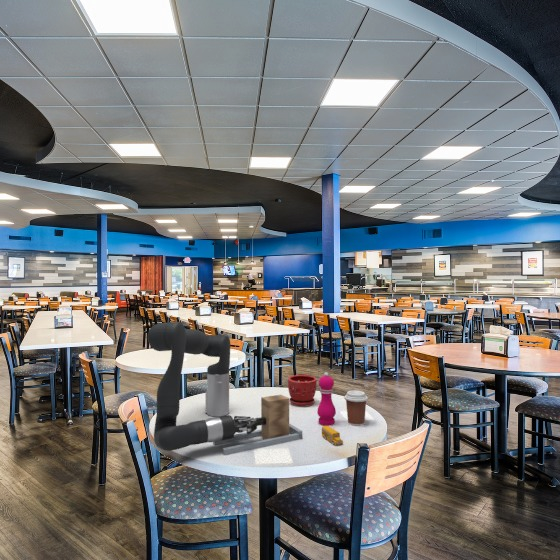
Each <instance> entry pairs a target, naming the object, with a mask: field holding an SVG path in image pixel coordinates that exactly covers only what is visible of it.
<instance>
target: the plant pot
mask: <svg viewBox="0 0 560 560" xmlns="http://www.w3.org/2000/svg"><path fill="white" fill-rule="evenodd" d="M287 388H288V393H289V396H290V397H289V403H290V404H291V405H294V406H296V407H297V406H298V407H308V406H309V407H310V406H312V405H313V404H314V403H315V401H316V400H315V398H314V397H315V395H316V392H317V378H316V377H315V376H313V375H308V374H297V375H291V376H289V377H288V379H287Z"/></svg>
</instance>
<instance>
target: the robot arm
mask: <svg viewBox="0 0 560 560" xmlns="http://www.w3.org/2000/svg"><path fill="white" fill-rule="evenodd" d="M147 341H148V344H149V346H150V348H152V349H153V350H154V351H156V352H168V351H169V352H170V351H171V354H170V355H171V356H170V361H169V364H168V366H167V369H166V371H165V373H164V375H163V376H162V378H161V380H160V382H159V384H158V386H157V391H156V417H155V424H154V429H153V431H154V432H153V438H154V444H155V445H156V447H157V448H159V449H161V450H162V451H166V452H167V451H168V452H170V451H176V450H180V449H183V448H186V447H188V446H195V445H200V444H206V443H213V442H216V441H222V440H227V439H232V438H233V437H234V435H235V434H240V433H245V432H247V434H250V433H252V432H253V431H256V430H258V426H261V425H265V424H266V418H264V417H261V416H260V417H256V418H254V417H251V416H245V415H244V416H243V415H242V416H239V415H238V416H237V415H234V417H233V416H232V415H229V414H230V366H231V365H230V364H231V363H230V362H231V340H230V337H229V336H228V335H225V334H208V335H207V334H206V333H205V332H203V331H201V330H198V329H193V328H186V327H185V326H184V324H183V323H182V322H180V321H172V322H171V321H170V322H163V323H162V322H161V323H156V324H155V325H154V324H153V326H151V327H150V329H149V330H148V332H147ZM185 354H189V355H196V356H197V355H201V354H202V355H205V356H206V357H209V358H211V357H212V358H213V357H214V358H219V360H218V362H216V363H214V364H213V363H212V364H210V365H208V366H207V368H206V370H207V371H206V372H207V373H206V376H207V377H206V379H207V387H206V388H207V389H206V390H205V414H206V413H207V414H206V415H207V416H210V418H206V419H202V420H201V419H200V420H195V421H191V422H188V423H187V424H181V425H180V424H178V425H177V419H178V415H179V413H180V399H181V398H180V397H181V395H180V388H181V387H180V386H181V378H182V370H183V365H184V358H185Z"/></svg>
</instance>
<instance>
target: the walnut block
mask: <svg viewBox="0 0 560 560" xmlns="http://www.w3.org/2000/svg"><path fill="white" fill-rule="evenodd" d="M289 399H290V397H287V396H284V395H283V394H276V395H269V396H262V397H261V400H260V401H261V402H260V403H261V404H260V405H261V406H260V407H261V409H260V412H261V414H260V415H261V416H260V417H264V418H266V424H265V425H260V426H261V429H260V430H261V436H260V437H261V438H262V440H266V439H271V438H276V437H280V436H285V435H290V434H289V424H290V400H289Z"/></svg>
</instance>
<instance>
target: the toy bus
mask: <svg viewBox="0 0 560 560" xmlns="http://www.w3.org/2000/svg"><path fill="white" fill-rule="evenodd" d="M321 436H322V437H323V438H324V439H325V440H326V441H328V442H330V444H332V445H333V446H340V445H343V444H344V441H343V439H341V433H340V432H339V431H338V430H336V429H334V428H332V427H331V426H324V425H322V426H321Z"/></svg>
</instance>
